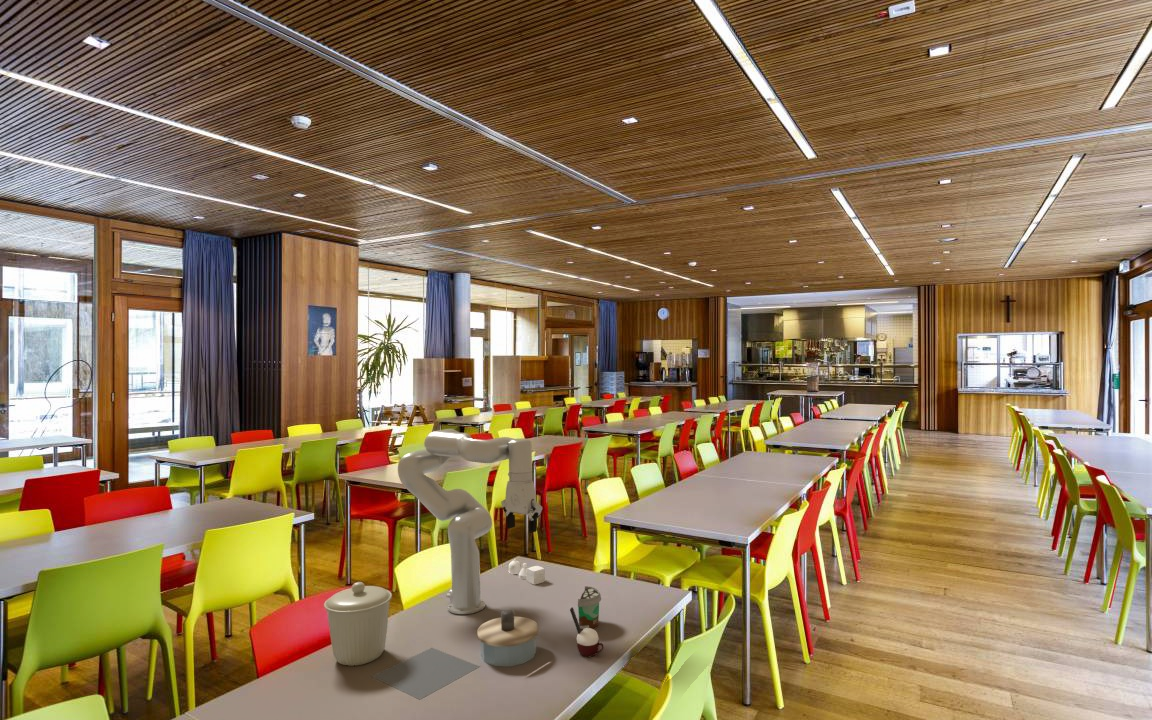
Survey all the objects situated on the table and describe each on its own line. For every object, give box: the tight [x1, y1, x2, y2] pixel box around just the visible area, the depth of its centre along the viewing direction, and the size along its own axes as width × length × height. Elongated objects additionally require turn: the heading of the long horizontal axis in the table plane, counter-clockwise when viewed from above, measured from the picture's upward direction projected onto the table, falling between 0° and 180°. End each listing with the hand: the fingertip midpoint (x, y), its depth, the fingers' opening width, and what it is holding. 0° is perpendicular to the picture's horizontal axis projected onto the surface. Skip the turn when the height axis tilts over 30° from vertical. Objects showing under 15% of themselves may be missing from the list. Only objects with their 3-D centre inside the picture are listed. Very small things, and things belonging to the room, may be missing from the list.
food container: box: [577, 585, 602, 631], centre depth 189 cm, size 12×6×10 cm, turn 168°
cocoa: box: [569, 607, 605, 658], centre depth 170 cm, size 10×6×12 cm, turn 46°
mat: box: [371, 647, 481, 701], centre depth 161 cm, size 20×20×1 cm
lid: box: [476, 609, 539, 647], centre depth 171 cm, size 17×17×6 cm
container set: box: [508, 558, 546, 585], centre depth 235 cm, size 20×5×6 cm, turn 38°
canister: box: [323, 581, 393, 667], centre depth 171 cm, size 18×18×21 cm
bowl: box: [479, 636, 537, 667], centre depth 170 cm, size 15×15×6 cm
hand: (521, 529), depth 197 cm, fingers open, 9 cm apart
